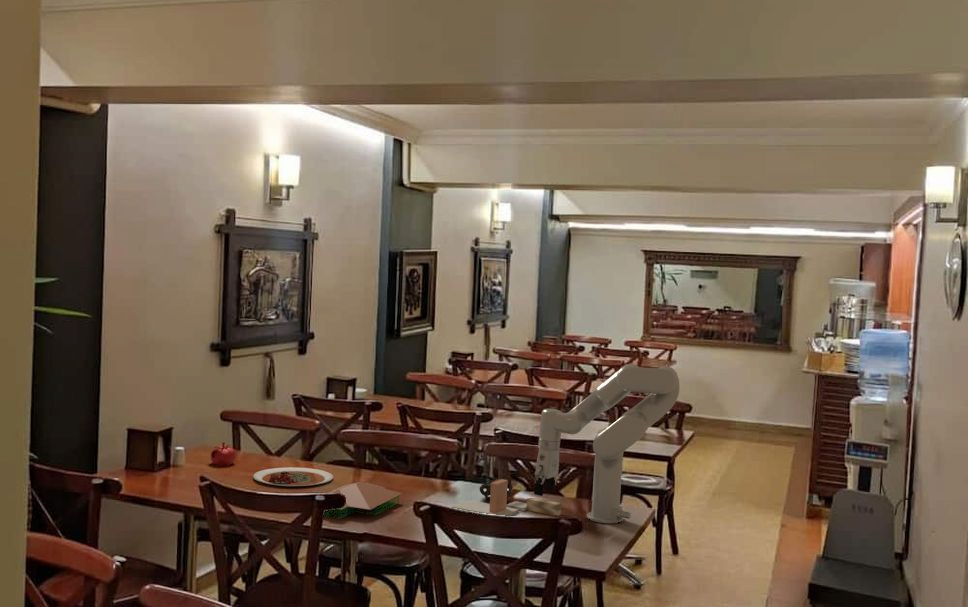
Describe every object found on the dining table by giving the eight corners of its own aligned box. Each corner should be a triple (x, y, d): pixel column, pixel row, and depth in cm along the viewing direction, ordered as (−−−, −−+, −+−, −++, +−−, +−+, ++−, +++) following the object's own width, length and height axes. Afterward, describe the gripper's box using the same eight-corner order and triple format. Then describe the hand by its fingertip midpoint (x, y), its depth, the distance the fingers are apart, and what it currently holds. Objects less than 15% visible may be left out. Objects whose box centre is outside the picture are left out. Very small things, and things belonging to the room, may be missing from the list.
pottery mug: (501, 495, 344) (510, 479, 340) (507, 512, 336) (517, 495, 333) (472, 490, 339) (481, 473, 336) (479, 507, 331) (488, 490, 328)
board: (518, 512, 321) (518, 509, 321) (502, 519, 310) (502, 516, 310) (468, 502, 330) (468, 499, 330) (451, 509, 320) (451, 506, 319)
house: (404, 500, 330) (406, 478, 329) (363, 522, 298) (364, 497, 298) (347, 492, 337) (348, 470, 337) (301, 513, 306) (302, 488, 306)
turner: (563, 513, 323) (563, 502, 323) (555, 517, 317) (555, 505, 317) (514, 504, 332) (515, 493, 332) (506, 508, 326) (506, 496, 326)
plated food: (341, 475, 366) (341, 467, 366) (320, 492, 336) (321, 483, 336) (268, 469, 369) (268, 461, 368) (241, 486, 339) (241, 477, 339)
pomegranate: (237, 462, 376) (239, 440, 375) (232, 467, 366) (233, 444, 365) (213, 461, 375) (214, 439, 375) (207, 466, 365) (208, 443, 365)
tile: (506, 508, 321) (507, 480, 320) (495, 513, 314) (497, 484, 313) (499, 507, 322) (501, 479, 322) (489, 511, 315) (490, 483, 315)
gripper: (548, 449, 312) (543, 499, 313) (568, 443, 328) (563, 490, 328) (528, 445, 316) (523, 494, 317) (549, 439, 331) (544, 486, 332)
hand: (544, 492), depth 322 cm, fingers open, 9 cm apart
